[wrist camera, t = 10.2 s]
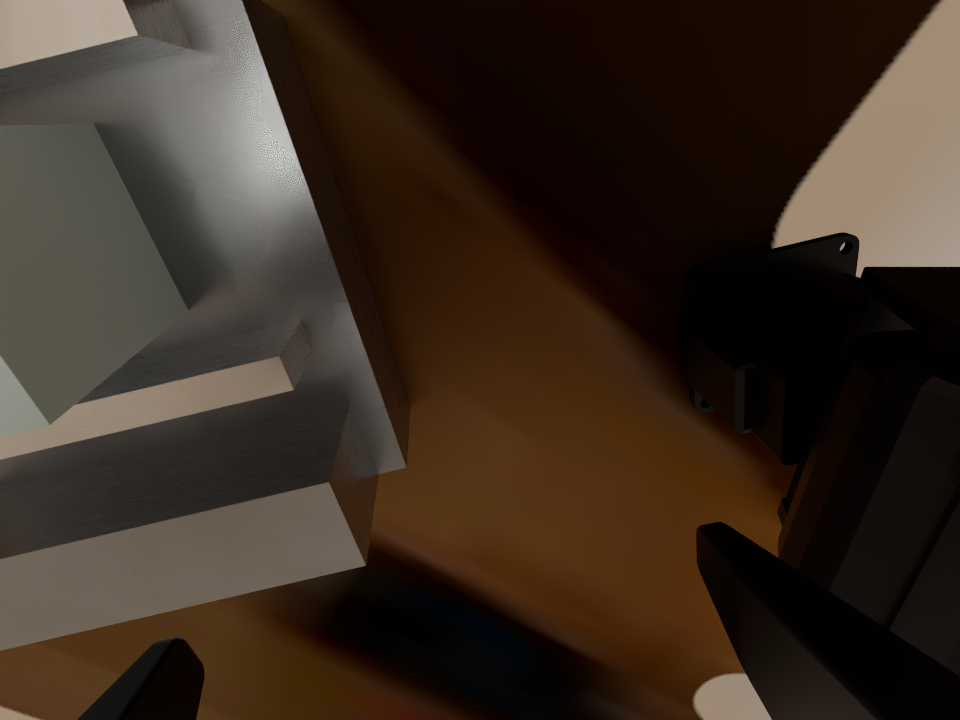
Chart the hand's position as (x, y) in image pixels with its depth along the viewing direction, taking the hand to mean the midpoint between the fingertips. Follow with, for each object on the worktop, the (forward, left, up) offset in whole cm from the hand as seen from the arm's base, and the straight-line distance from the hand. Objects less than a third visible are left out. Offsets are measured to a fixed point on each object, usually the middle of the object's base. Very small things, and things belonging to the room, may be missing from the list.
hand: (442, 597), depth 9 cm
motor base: (+9, -4, -12) cm, 16 cm away
